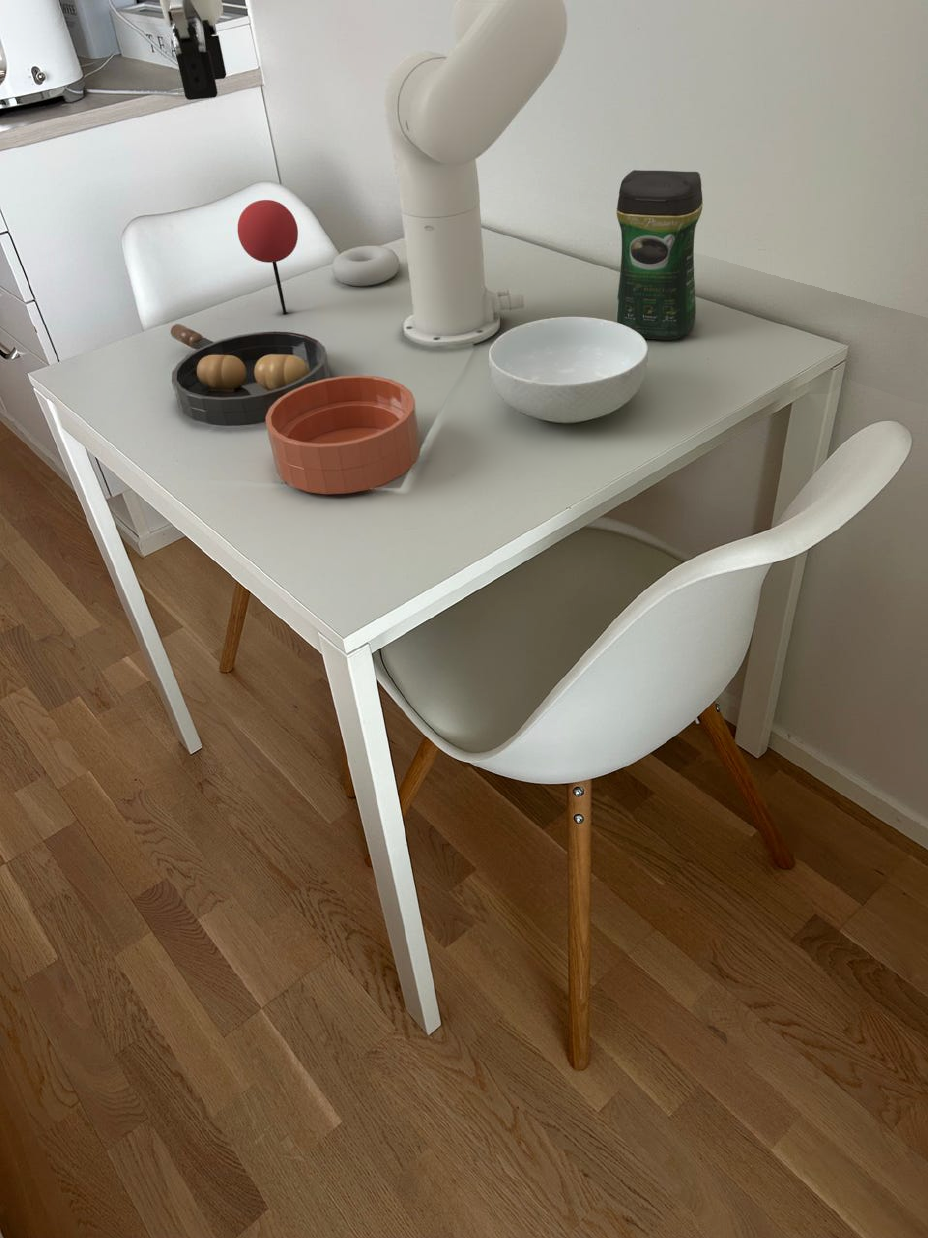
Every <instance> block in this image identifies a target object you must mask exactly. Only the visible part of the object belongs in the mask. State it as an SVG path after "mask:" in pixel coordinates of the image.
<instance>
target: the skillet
mask: <svg viewBox="0 0 928 1238" xmlns="http://www.w3.org/2000/svg"><path fill="white" fill-rule="evenodd" d="M213 342H214V343H211V344H209V345H206V346H204V347H201V348H200V349H195V350H194V351H192V352H191V353H189V354H188V355H186V356H184V358H182V359H181V360H180V361H179V362H177V364H176V365H175V367H174V369H172V372H171V383H172V387H173V390H174V393H175V397H176V399H177V400H176V401H177V404H178V406H179V409H180V410H181V412H182V413H183V414H184V415H186V416H187V417H188V418H190V419H192V420H194V421H197V422H199V423H203V424H208V425H212V426H213V425H214V426H223V427H224V426H225V427H226V426H227V427H231V426H232V427H235V426H237V427H239V426H249V425H255V424H256V425H257V424H262V423H266V419H265V418H266V415H267V413H268V410H269V408H270V407H271V406H272V405H273V404H274V403H275V402H276V401H277V400H278V399H279V398H281V397H282V396H284V395H285V394H287V393H288V392H290V391H292V390H294V389H296V388H299V387H301V386H303V385H306V384H309V383H312V382H316V381H319V380H324V379H328V378H332V377H331V371H330V366H329V360H328V355H327V351H326V347H325V346H324V345H323V344H322V343H321V342H320V341H319V340H317V339H316V338H313V337H311V336H309V335H306V334H302V333H298V332H297V333H296V332H292V331H261V332H260V331H259V332H252V333H244V334H239V335H233V336H231V337H226V338H222V339H219V340H216V341H213ZM270 354H278V355H295V356H298V357H300V358H301V359H303V360H304V361H305V362H306V364H307V366H308V369H309V374H307V375H306V376H304V377H303V378H301V379H299V380H298V381H296V382H293V383H291V384H289V385H286V386H284V387H282V388H279V389H275V390H272V391H268V392H267V390H266V389H264V388H263V387H261V386H260V385H259V384H258V382H257V381H256V378H255V374H254V369H255V365H256V363H257V362H258V360H259V359H260V358H262V357H263V356H266V355H270ZM208 355H232V356H235V357H237V358H239V359H240V360H241V361H242V362H243V364H244V365H245V368H246V379H245V381H244V383H243V384H242V385H241V386H240V387H238V388H236V389H235V390H234V391H233V392H225V391H211V390H210V388H208V387H206V386H204V385H203V384H202V383H201V382H200V380H199V378H198V376H197V366H198V364H199V362H200V360H201V359H202V358H204V357H205V356H208Z"/></svg>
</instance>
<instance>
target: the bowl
mask: <svg viewBox="0 0 928 1238" xmlns="http://www.w3.org/2000/svg"><path fill="white" fill-rule="evenodd" d="M416 408H417V407H416V400H415V398H414V395H413V392H412V391H411V390H410V389H409V388H408V387H406V386H405V385H404V384H402V383H400V382H397V381H396V380H393V379H391V378H385V377H383V376H376V375H363V374H360V375H359V374H358V375H357V374H355V375H342V376H340V375H339V376H334V377H331V378H328V379H324V380H319V381H316V382H312V383H309V384H306V385H303V386H301V387H299V388H296V389H294V390H292V391H290V392H288V393H287V394H285V395H284V396H282V397H281V398H279V399H278V400H277V401H276V402H275V403H274V404H273V405H272V406H271V407H270V408H269V410H268V413H267V415H266V418H265V419H266V422H265V426H266V431H267V435H268V439H269V444H270V447H271V452H272V456H273V461H274V465H275V470H276V473H277V474H278V475H279V477H280V478H281V480H282V481H283V482H284V483H286V484H287V485H289V486H291V487H292V488H295V489H297V490H301V491H305V492H307V493H310V494H311V493H313V494H321V495H341V494H342V495H343V494H344V495H345V494H352V493H358V492H364V491H367V490H371V489H374V488H377V487H381V486H383V485H386V484H388V483H389V482H392V481H394V480H396V479H398V478H399V477H402V476H403V475H404V474H405V473H406V472H407V471H409V470H410V469H411V468H412V467H413V466H414V464H415V463H416V461H417V460H418V458H419V457H420V452H421V440H420V431H419V430H420V429H419V424H418V423H419V422H418V415H417V414H418V413H417V409H416Z"/></svg>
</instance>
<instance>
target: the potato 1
mask: <svg viewBox="0 0 928 1238" xmlns="http://www.w3.org/2000/svg"><path fill="white" fill-rule="evenodd" d="M197 376H198V378H199V380H200V382H201V383H202V384H203V385H204V386H206V387H208V388H210V390H211V391H225V392H233V391H234V390H235V389H236V388H238V387H240V386H241V385H242V384H243V383H244V381H245V379H246V368H245V365H244V364H243V362H242V361H241V360H240V359H239V358H237V357H235V356H232V355H208V356H205V357H204V358H202V359H201V360H200V362H199V364H198V366H197Z"/></svg>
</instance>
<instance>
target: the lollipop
mask: <svg viewBox="0 0 928 1238" xmlns="http://www.w3.org/2000/svg"><path fill="white" fill-rule="evenodd" d="M237 236H238V240H239V243H240V245H241V247H242V248H243V250H244V251H245V252H246V254H247V255H249V256H250V257H251V258H253V259H254V260H255V261H258V262H260V263H266V264H268V263H269V264H271V263H272V267H273V272H274V276H275V281H276V286H277V291H278V295H279V300H280V304H281V310H282V315H287V314H288V312H287V307H286V303H285V297H284V293H283V288H282V282H281V279H280V274H279V269H278V264H277V263H278V262H281V261H283V260H285V259H287V258H288V257H289V256H290V255H292V253H293V252H294V250H295V248H296V246H297V244H298V243H297V242H298V238H299V228H298V224H297V221H296V219H295V217H294V215H293V214H292V212H291V210H290V209H289V208H288V207H287V206H285V205H284V204H282V203H280V202H278V201H275V200H273V199H261V200H257V201H254V202H251V203H250V204H249V205H247V206H246V207H245V208H243V210H242V212H241V213H240V215H239V218H238V221H237Z"/></svg>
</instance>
